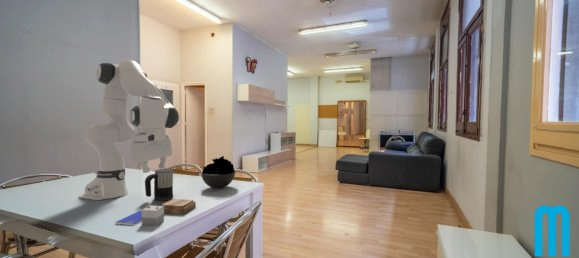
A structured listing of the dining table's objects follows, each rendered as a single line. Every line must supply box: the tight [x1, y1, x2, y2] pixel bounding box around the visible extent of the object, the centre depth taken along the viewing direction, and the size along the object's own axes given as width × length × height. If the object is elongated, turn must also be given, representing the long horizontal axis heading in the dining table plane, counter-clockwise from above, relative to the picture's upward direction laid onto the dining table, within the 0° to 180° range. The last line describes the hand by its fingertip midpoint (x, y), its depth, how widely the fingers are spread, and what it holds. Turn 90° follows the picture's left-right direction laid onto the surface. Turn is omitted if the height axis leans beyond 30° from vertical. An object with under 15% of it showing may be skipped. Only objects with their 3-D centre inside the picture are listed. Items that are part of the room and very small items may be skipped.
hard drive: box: [115, 210, 142, 226], centre depth 105 cm, size 2×8×12 cm
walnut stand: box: [160, 198, 196, 215], centre depth 115 cm, size 12×10×4 cm
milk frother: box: [144, 168, 174, 202], centre depth 130 cm, size 14×16×15 cm
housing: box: [141, 205, 165, 227], centre depth 101 cm, size 6×5×6 cm
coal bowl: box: [200, 155, 236, 190], centre depth 154 cm, size 20×20×19 cm
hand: (154, 170), depth 101 cm, fingers open, 8 cm apart
